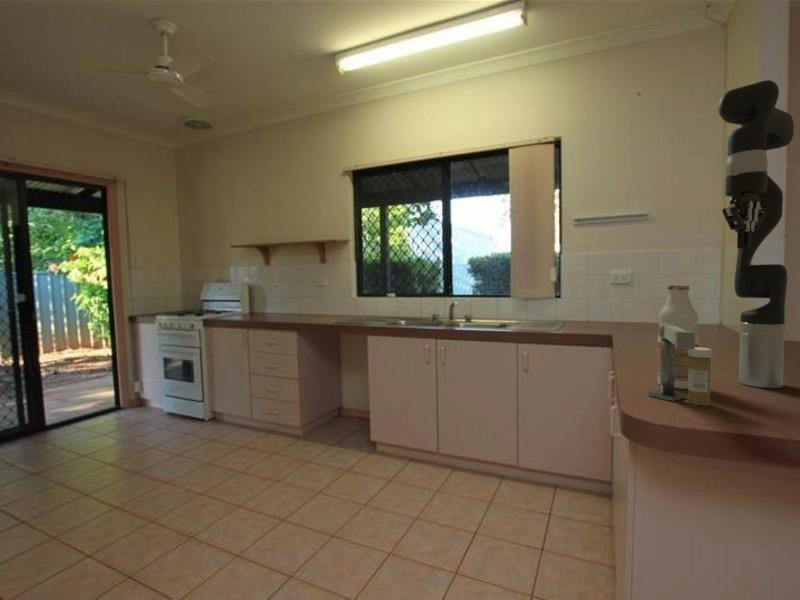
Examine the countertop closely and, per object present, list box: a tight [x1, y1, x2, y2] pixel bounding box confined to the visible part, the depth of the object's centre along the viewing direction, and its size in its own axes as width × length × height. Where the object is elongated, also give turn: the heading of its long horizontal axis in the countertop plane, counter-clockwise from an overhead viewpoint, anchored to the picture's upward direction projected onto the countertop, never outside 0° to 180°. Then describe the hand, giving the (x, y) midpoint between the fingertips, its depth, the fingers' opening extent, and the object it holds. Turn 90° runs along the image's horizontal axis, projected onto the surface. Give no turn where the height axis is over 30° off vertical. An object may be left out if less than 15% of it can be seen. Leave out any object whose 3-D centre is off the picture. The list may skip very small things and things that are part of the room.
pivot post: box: [648, 338, 687, 402], centre depth 106 cm, size 6×6×15 cm
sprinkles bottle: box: [687, 346, 713, 407], centre depth 100 cm, size 5×5×14 cm
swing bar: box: [658, 323, 695, 350], centre depth 99 cm, size 20×4×4 cm, turn 158°
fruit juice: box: [656, 284, 699, 390], centre depth 117 cm, size 9×9×28 cm
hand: (744, 248), depth 99 cm, fingers closed
